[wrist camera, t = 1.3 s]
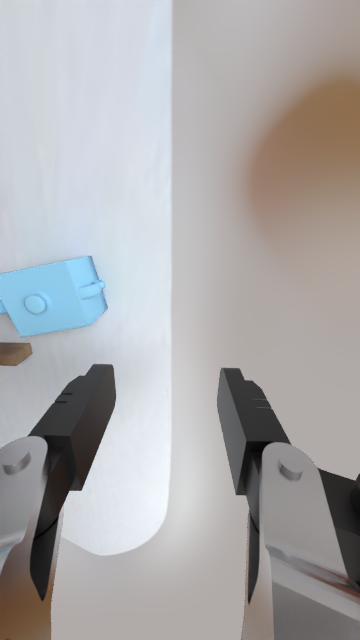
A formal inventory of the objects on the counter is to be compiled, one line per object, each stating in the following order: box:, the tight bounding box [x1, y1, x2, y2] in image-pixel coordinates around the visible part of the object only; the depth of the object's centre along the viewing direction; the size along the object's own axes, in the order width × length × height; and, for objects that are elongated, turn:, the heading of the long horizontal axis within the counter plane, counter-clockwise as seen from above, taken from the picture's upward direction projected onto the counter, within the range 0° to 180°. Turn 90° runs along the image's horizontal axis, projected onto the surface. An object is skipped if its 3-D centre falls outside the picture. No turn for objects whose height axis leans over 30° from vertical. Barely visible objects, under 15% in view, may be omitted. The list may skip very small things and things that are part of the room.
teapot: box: [0, 256, 108, 337], centre depth 22 cm, size 12×6×8 cm, turn 100°
